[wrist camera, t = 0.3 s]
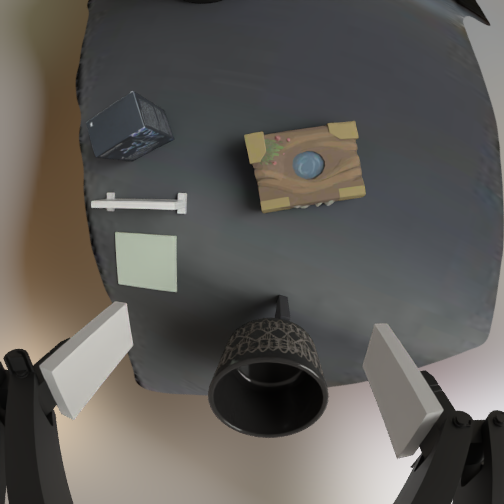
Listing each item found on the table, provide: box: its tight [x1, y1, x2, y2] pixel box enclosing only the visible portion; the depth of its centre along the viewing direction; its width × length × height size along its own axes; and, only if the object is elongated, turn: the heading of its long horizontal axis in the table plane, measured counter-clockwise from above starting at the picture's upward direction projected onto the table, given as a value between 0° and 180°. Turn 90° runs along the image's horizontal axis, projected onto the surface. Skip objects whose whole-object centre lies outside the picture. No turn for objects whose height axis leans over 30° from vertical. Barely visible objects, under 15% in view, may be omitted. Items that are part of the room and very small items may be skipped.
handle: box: [91, 193, 187, 214], centre depth 37 cm, size 3×14×5 cm, turn 86°
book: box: [244, 121, 366, 213], centre depth 35 cm, size 15×11×5 cm
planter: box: [208, 295, 328, 438], centre depth 34 cm, size 13×13×18 cm
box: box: [86, 91, 174, 161], centre depth 32 cm, size 8×6×11 cm
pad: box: [115, 232, 177, 292], centre depth 42 cm, size 9×11×1 cm
